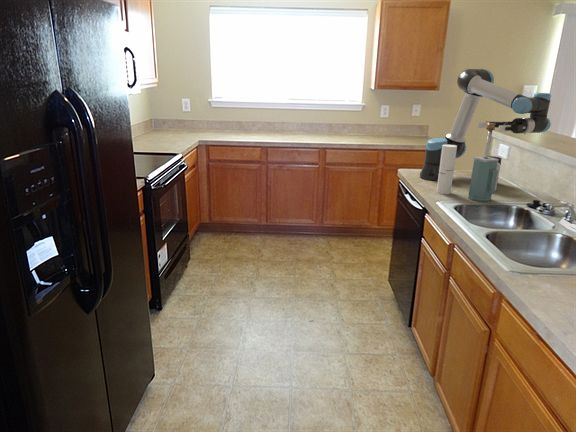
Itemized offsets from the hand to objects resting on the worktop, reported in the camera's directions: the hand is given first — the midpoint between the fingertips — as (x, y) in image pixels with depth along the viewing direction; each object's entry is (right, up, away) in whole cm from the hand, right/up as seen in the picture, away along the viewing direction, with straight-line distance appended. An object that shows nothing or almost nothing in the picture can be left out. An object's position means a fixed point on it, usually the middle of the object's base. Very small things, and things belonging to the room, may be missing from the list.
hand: (488, 126), depth 209 cm
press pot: (+2, -35, +11) cm, 36 cm away
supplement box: (+14, -28, +33) cm, 45 cm away
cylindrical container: (-13, -30, +24) cm, 41 cm away
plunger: (+1, -22, +8) cm, 24 cm away
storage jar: (+21, -24, +45) cm, 55 cm away
